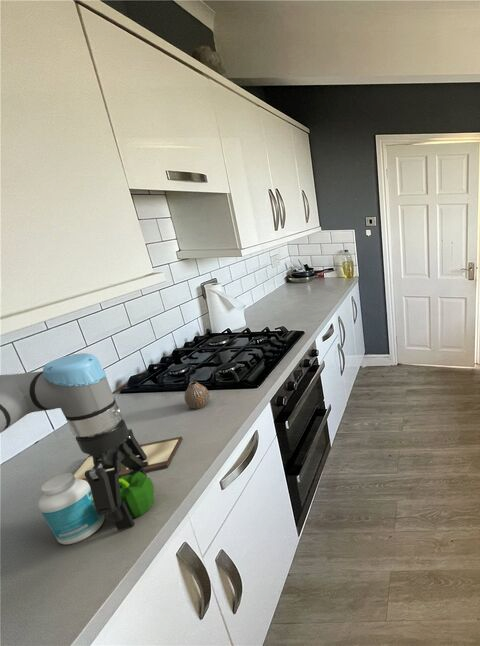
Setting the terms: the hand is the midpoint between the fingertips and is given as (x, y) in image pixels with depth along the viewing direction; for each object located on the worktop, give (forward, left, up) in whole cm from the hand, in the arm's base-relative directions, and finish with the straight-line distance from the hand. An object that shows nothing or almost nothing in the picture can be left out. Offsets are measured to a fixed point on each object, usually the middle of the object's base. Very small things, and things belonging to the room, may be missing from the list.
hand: (136, 508), depth 79 cm
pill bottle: (-9, -2, -1) cm, 9 cm away
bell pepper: (0, 0, -1) cm, 1 cm away
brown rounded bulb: (+2, +43, -1) cm, 43 cm away
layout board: (-9, +19, 0) cm, 21 cm away
